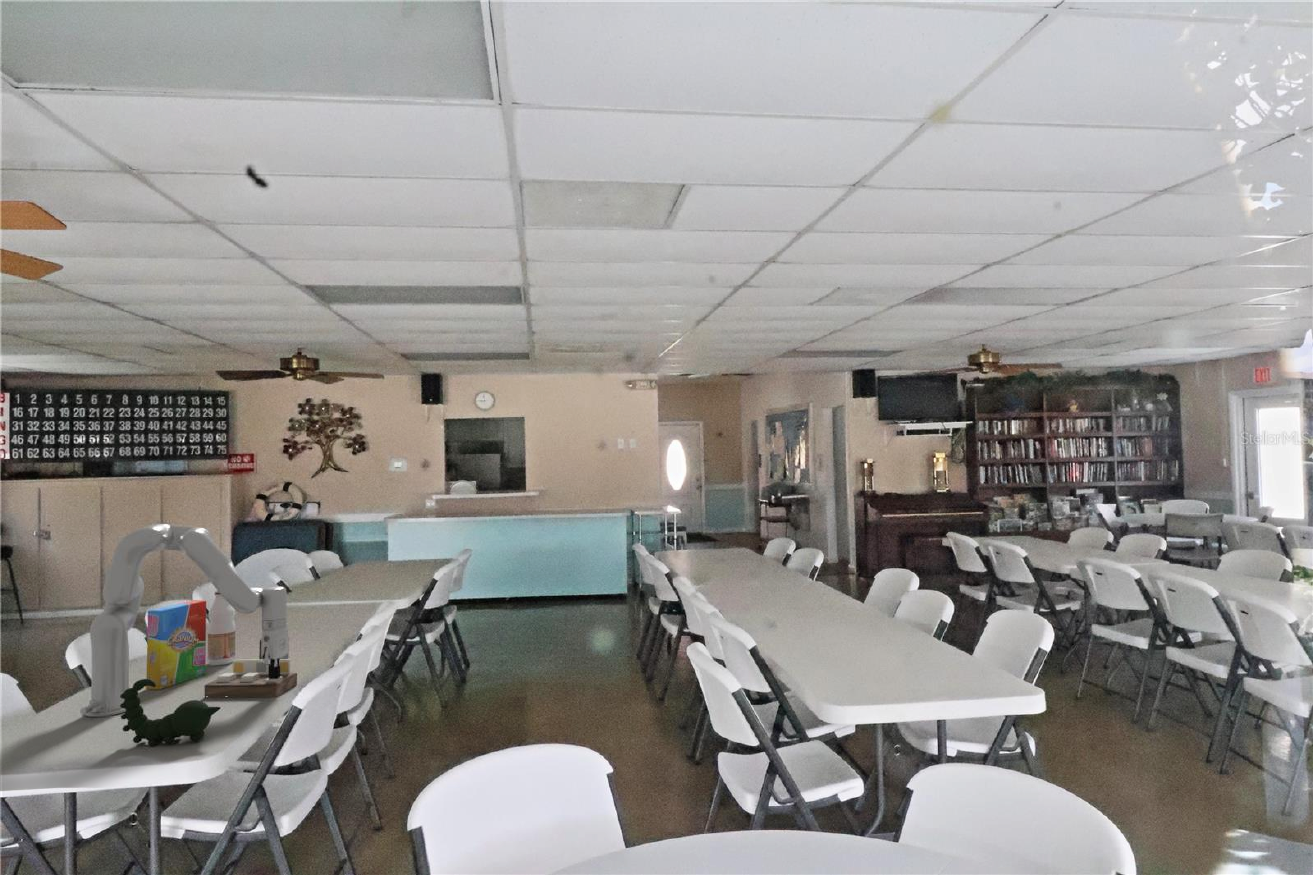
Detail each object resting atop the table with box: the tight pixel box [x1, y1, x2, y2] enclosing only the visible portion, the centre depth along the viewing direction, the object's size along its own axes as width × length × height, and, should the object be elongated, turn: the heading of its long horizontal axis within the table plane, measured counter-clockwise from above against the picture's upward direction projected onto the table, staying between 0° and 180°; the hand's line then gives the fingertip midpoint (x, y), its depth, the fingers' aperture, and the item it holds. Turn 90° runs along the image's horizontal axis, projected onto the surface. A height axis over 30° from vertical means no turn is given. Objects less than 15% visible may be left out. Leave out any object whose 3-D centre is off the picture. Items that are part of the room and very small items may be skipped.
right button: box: [265, 676, 283, 682], centre depth 255 cm, size 4×4×2 cm
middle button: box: [241, 673, 259, 682], centre depth 255 cm, size 4×4×2 cm
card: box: [232, 658, 291, 675], centre depth 262 cm, size 1×20×5 cm, turn 89°
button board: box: [204, 672, 298, 698], centre depth 256 cm, size 14×24×4 cm, turn 89°
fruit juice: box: [207, 590, 237, 666], centre depth 294 cm, size 9×9×28 cm
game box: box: [145, 599, 207, 690], centre depth 269 cm, size 21×6×27 cm, turn 168°
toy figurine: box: [120, 678, 221, 747], centre depth 209 cm, size 9×19×25 cm
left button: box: [217, 672, 236, 682], centre depth 255 cm, size 4×4×2 cm
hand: (274, 678), depth 255 cm, fingers closed
